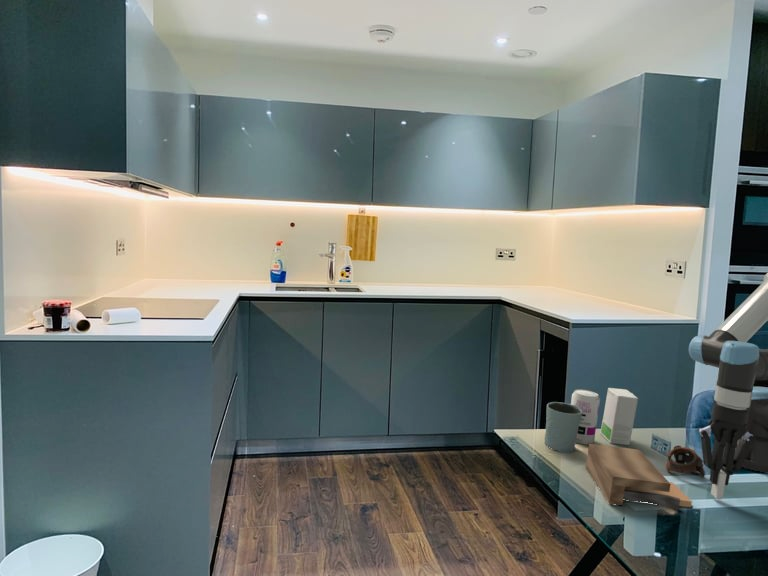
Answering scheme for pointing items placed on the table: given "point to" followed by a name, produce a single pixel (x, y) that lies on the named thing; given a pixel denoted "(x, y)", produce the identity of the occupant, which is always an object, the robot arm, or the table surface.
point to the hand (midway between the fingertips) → (716, 496)
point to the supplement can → (586, 414)
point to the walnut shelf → (627, 476)
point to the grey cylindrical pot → (562, 426)
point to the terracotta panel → (668, 493)
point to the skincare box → (619, 416)
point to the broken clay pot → (680, 457)
